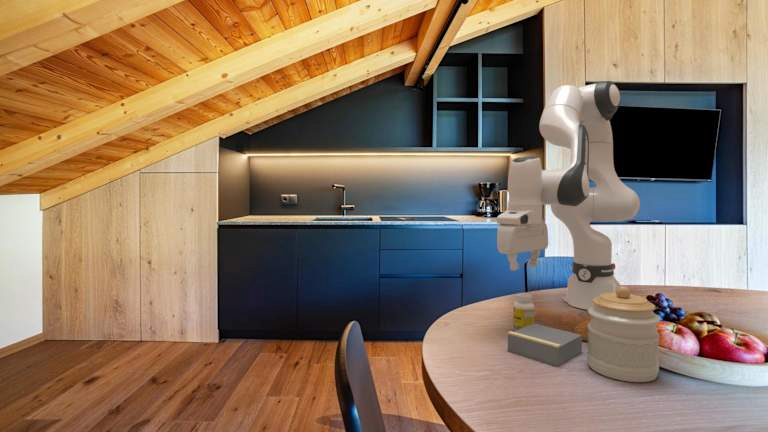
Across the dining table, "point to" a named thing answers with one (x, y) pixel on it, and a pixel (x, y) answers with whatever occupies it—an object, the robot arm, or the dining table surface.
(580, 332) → the pastry
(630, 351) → the jar
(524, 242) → the robot arm
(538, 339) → the block
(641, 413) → the dining table surface
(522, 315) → the supplement bottle
